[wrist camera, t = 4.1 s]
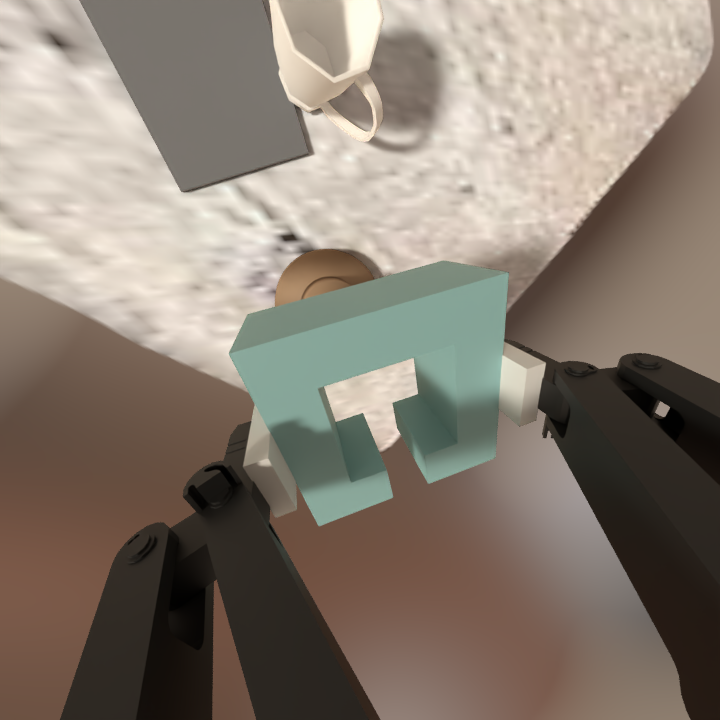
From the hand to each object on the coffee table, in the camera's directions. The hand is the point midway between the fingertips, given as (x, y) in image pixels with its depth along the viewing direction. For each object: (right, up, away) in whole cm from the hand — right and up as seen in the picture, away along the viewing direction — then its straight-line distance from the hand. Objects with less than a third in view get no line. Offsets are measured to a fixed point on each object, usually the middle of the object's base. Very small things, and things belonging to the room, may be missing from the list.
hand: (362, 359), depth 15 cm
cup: (-4, +23, +8) cm, 25 cm away
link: (0, -1, -1) cm, 1 cm away
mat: (-12, +22, +6) cm, 26 cm away
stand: (-4, +7, +16) cm, 18 cm away
